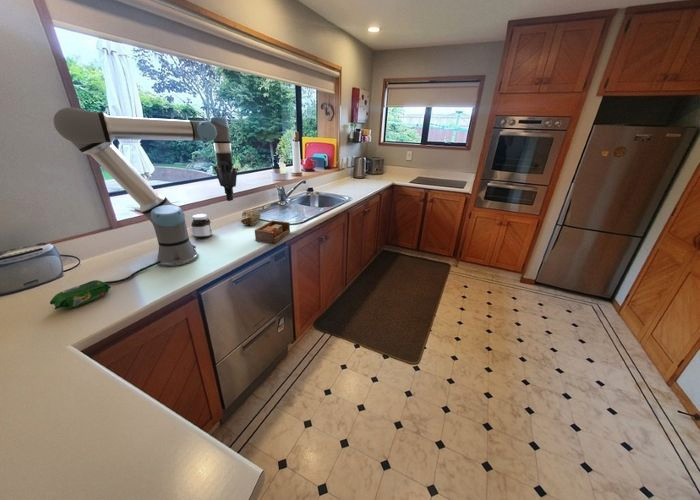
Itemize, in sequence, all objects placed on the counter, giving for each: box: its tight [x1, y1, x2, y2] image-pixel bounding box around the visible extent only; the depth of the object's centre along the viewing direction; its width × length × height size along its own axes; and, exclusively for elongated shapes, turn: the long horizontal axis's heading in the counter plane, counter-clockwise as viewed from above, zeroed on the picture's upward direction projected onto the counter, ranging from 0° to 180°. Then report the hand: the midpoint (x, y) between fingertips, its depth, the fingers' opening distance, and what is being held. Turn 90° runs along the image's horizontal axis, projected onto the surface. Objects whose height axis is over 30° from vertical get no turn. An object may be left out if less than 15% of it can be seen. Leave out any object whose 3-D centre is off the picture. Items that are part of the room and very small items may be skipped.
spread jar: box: [189, 213, 213, 240], centre depth 150 cm, size 12×11×12 cm
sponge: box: [240, 208, 261, 227], centre depth 176 cm, size 13×8×20 cm
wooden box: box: [254, 220, 291, 244], centre depth 154 cm, size 18×11×6 cm, turn 164°
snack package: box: [49, 279, 112, 310], centre depth 94 cm, size 7×16×5 cm, turn 153°
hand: (230, 200), depth 145 cm, fingers closed
